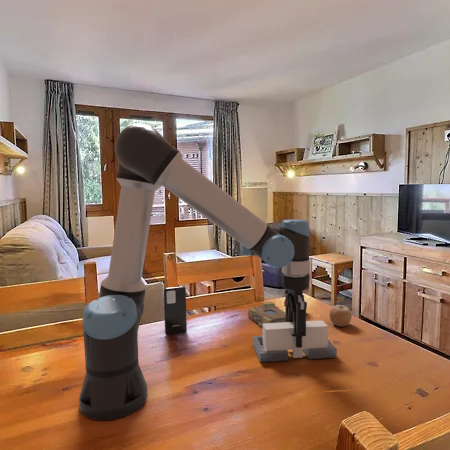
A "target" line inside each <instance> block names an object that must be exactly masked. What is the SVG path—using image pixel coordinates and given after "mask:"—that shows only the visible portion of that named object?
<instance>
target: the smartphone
mask: <svg viewBox="0 0 450 450" xmlns="http://www.w3.org/2000/svg"><path fill="white" fill-rule="evenodd" d="M186 290H187V288H186V286H173V287H172V286H171V287H165V288H164V289H163V309H164V312H163V313H164V314H163V315H164V334H165V335H166V336H172V335H173V336H174V335H180V334H181V335H182V334H186V333H187V332H188V327H187V326H188V322H187V321H188V320H187V293H186V292H187V291H186Z"/></svg>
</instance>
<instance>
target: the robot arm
mask: <svg viewBox="0 0 450 450" xmlns="http://www.w3.org/2000/svg"><path fill="white" fill-rule="evenodd" d="M114 152H115V153H114V154H115V156H116V159H117V161H118V163H117V171H116V181H117V182H118V183H119V185H120V187H121V188H120V192H119V199H118V200H119V201H118V207H117V214H116V221H115V227H114V234H113V242H112V247H111V254H110V261H109V268H108V274H107V275H108V276H106V277H105V278H104V279H102V280H101V282H100V287H99V296H98V298H97V299H94V300H91V301H90V302H88V304H86V306H85V307H84V309H83V312H82V319H81V320H82V321H81V324H82V329H83V344H84V346H83V347H84V359H85V360H84V361H85V363H84V364H85V375H84V379H83V382H82V386H81V390H80V393H79V401H78V402H79V410H80V413H81V414H82V415H83V416H85V418H86V417H87V418H89V419H90V420H91V419H92V420H95V421H97V420H99V421H109V420H116V419H120V418H123V417H126V416H127V415H131V414H132V413H134V412H135V411H137V410H139V409H141V407H142V406H143V405H144V404H145V403H146V401H147V399H148V385H147V381H146V379H145V376H144V375H143V372H142V369H141V366H140V364H139V341H138V340H139V338H138V336H139V335H138V333H139V327H140V323H141V320H142V316H143V313H144V309H145V305H144V302H145V297H146V290H147V289H146V288H147V287H146V286H147V285H146V284H145V283H144V282H143V280H142V277H143V270H144V264H145V257H146V252H147V246H148V245H147V244H148V239H149V238H148V237H149V234H150V233H149V232H150V225H151V220H152V212H153V207H154V199H155V193H156V191H158V190H159V189H160V188H161V187H164V188H165V189H166V190H167V191H169V192H170V193H172V194H173V195H174V196H176V197H177V198H178V199H180V200H181V201H183V202H184V203H185V204H187V205H188V206H189V207H191V208H192V209H193V210H195V211H196V212H197V213H198V214H200V215H201V216H203V217H204V218H206V219H207V220H208V221H209V222H211V223H212V224H214V225H215V226H216V227H218V228H219V229H220V230H222V231H223V232H224V233H226V234H227V235H229V237H231V238H232V239H233V240H235V241H236V242H238V243H239V250H240V253H241V254H242V255H243V256H246V257H247V256H250V257H253V256H254V257H255V256H257V257H258V258H259V259H260V260H262V261H263V262H264V263H265V264H267V265H268V266H270V267H272V268H279V269H280V268H281V272H282V275H281V287H282V288H283V289H285V290H284V296H285V298H284V301H285V305H284V307H285V311H284V312H285V318H286V319H285V321H286V322H293V325H294V334H291V335H292V337H293V350H292V358H293V359H297V358H301V359H302V358H303V357H304V356H303V355H304V351H303V336H306V321H307V307H308V303H307V301H305V302H304V300H305V295H304V294H303V291H304V290H307V289H309V287H310V276H309V275H308V274H309V273H310V267H309V266H310V265H311V264H312V263H311V262H310V238H311V235H310V225H309V222H308V220H305V219H300V218H299V219H297V218H295V219H293V218H291V219H283V220H282V222H281V226H279V227H271V226H270V225H268V224H267V222H265V221H264V220H262V219H261V218H260V217H258V216H257V215H256V214H255V213H253V212H252V211H251V210H250V209H248V208H247V207H245V206H244V205H243V204H241V203H240V202H239V201H238V200H237V199H236V198H235V199H234V197H232V196H231V194H229V193H228V192H226V191H225V190H223V189H222V188H221V187H220V186H218V185H217V184H216V183H214V182H213V181H211V180H210V179H209V178H207V177H206V176H205V175H204V174H202V173H201V172H200V171H198V170H197V169H196V168H195V167H193V166H192V165H191V164H189V163H188V162H187V161H185V160H184V159H183V157H182V153H181V152H182V151H180V150H179V149H178V148H176V147H175V146H174V145H173V144H171V142H169V141H168V140H167V139H166V138H165V137H164V136H162V134H161V133H160V132H159V131H157V130H156V128H154V127H152V126H150V125H149V124H144V123H134V124H131V125H128V126H126V127H125V128H123V129H122V130H121V131H120V132H119V133H118V135H117V137H116V140H115V144H114Z"/></svg>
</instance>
